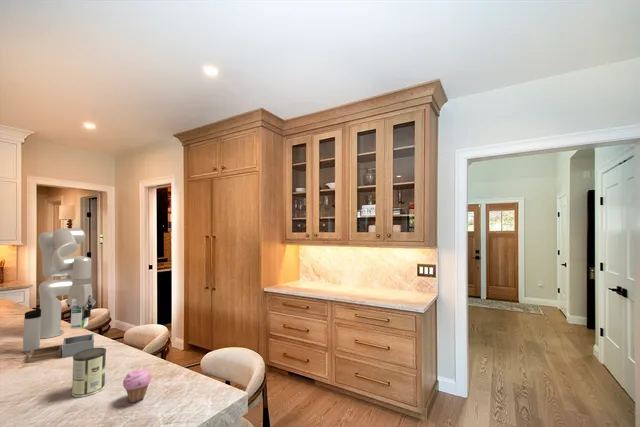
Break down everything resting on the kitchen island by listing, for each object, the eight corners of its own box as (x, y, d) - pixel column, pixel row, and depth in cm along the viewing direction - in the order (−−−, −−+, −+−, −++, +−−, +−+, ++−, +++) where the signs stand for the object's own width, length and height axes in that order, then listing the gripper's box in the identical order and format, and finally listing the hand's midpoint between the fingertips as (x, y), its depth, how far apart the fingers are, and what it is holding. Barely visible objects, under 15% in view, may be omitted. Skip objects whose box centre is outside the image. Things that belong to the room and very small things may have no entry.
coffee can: (87, 382, 123) (88, 346, 124) (111, 384, 122) (112, 347, 123) (63, 396, 113) (65, 357, 114) (89, 398, 112) (91, 358, 113)
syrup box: (69, 329, 152) (71, 299, 153) (75, 325, 158) (76, 297, 159) (83, 328, 154) (84, 298, 155) (88, 324, 159) (89, 296, 160)
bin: (63, 350, 156) (64, 338, 157) (93, 345, 164) (93, 333, 164) (62, 358, 147) (62, 345, 147) (93, 352, 154) (93, 340, 154)
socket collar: (31, 355, 151) (31, 349, 151) (62, 349, 157) (62, 344, 158) (27, 363, 141) (27, 357, 141) (60, 357, 148) (60, 351, 148)
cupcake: (119, 398, 112) (120, 370, 112) (146, 389, 118) (147, 363, 118) (126, 408, 106) (127, 378, 106) (153, 399, 112) (154, 370, 112)
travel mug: (43, 348, 159) (45, 309, 160) (30, 353, 152) (32, 312, 153) (32, 348, 159) (34, 308, 161) (18, 353, 153) (21, 312, 154)
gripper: (59, 282, 155) (57, 318, 154) (90, 283, 152) (88, 320, 151) (73, 280, 162) (71, 314, 161) (102, 281, 160) (101, 315, 159)
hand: (80, 317), depth 156 cm, fingers closed on syrup box, 7 cm apart
